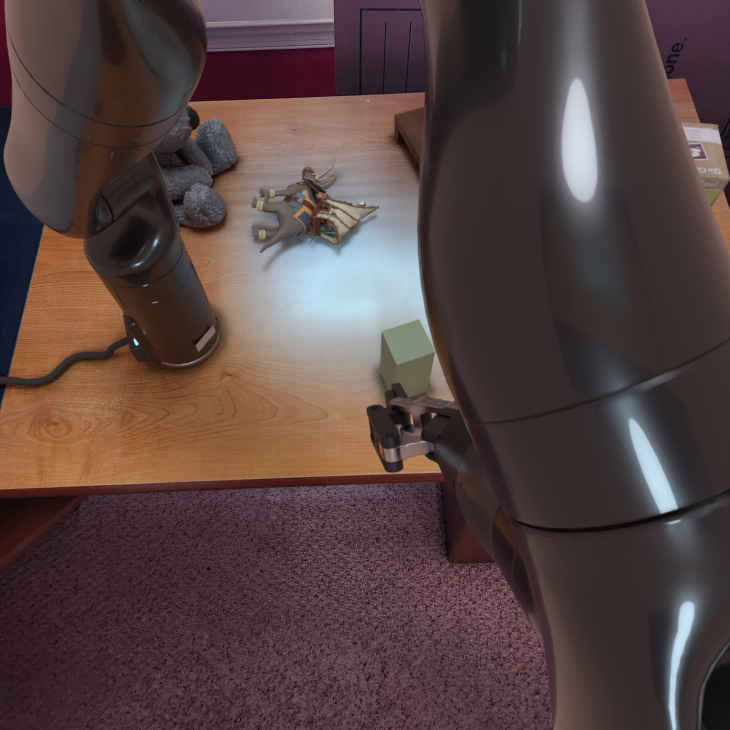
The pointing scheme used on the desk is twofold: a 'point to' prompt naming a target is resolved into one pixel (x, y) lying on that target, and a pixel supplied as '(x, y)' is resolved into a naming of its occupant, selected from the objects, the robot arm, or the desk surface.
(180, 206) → the koala plush
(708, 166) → the tea box
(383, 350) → the sage block
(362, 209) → the figurine
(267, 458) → the desk surface
